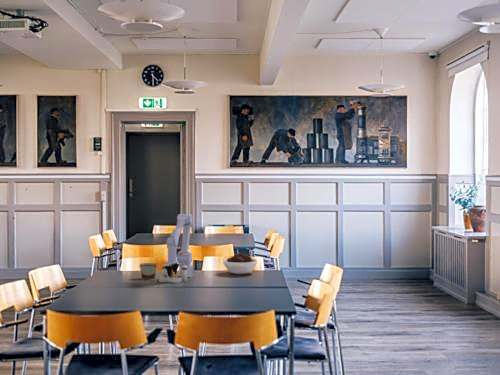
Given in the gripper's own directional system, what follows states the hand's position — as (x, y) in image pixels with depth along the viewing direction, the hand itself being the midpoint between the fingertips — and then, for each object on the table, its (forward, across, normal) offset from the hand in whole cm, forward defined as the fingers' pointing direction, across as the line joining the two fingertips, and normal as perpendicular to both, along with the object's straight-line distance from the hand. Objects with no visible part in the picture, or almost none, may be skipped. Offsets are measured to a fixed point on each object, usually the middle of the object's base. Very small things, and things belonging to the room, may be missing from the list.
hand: (172, 275), depth 397 cm
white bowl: (+4, -46, +32) cm, 57 cm away
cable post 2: (+4, -4, +8) cm, 9 cm away
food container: (+4, -6, -20) cm, 22 cm away
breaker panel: (+4, +2, 0) cm, 4 cm away
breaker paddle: (+1, 0, 0) cm, 1 cm away
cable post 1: (+4, -4, -8) cm, 9 cm away
